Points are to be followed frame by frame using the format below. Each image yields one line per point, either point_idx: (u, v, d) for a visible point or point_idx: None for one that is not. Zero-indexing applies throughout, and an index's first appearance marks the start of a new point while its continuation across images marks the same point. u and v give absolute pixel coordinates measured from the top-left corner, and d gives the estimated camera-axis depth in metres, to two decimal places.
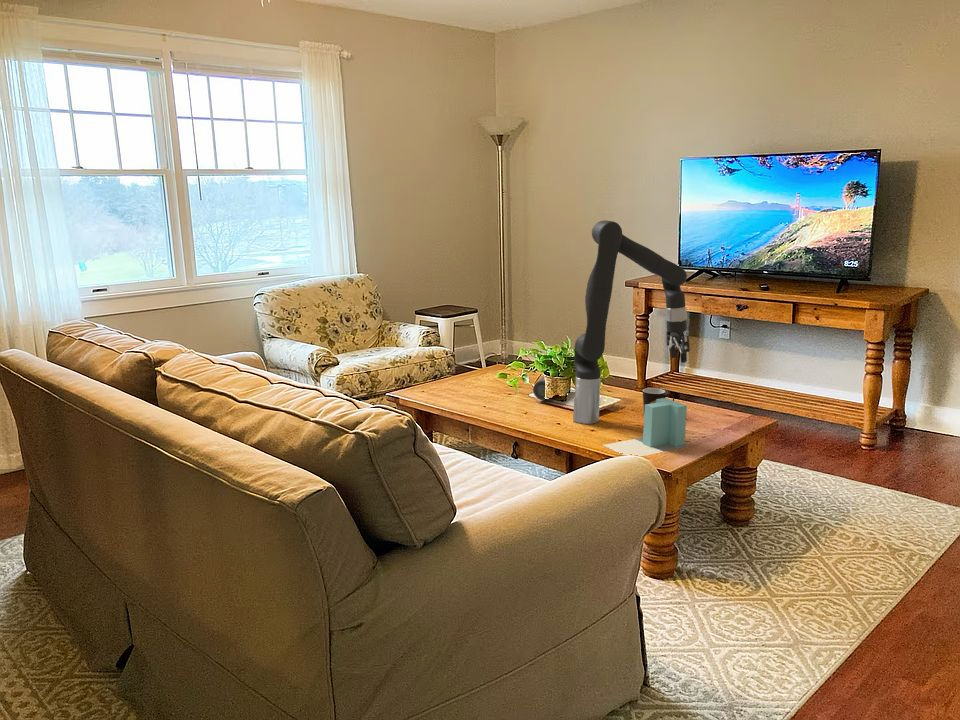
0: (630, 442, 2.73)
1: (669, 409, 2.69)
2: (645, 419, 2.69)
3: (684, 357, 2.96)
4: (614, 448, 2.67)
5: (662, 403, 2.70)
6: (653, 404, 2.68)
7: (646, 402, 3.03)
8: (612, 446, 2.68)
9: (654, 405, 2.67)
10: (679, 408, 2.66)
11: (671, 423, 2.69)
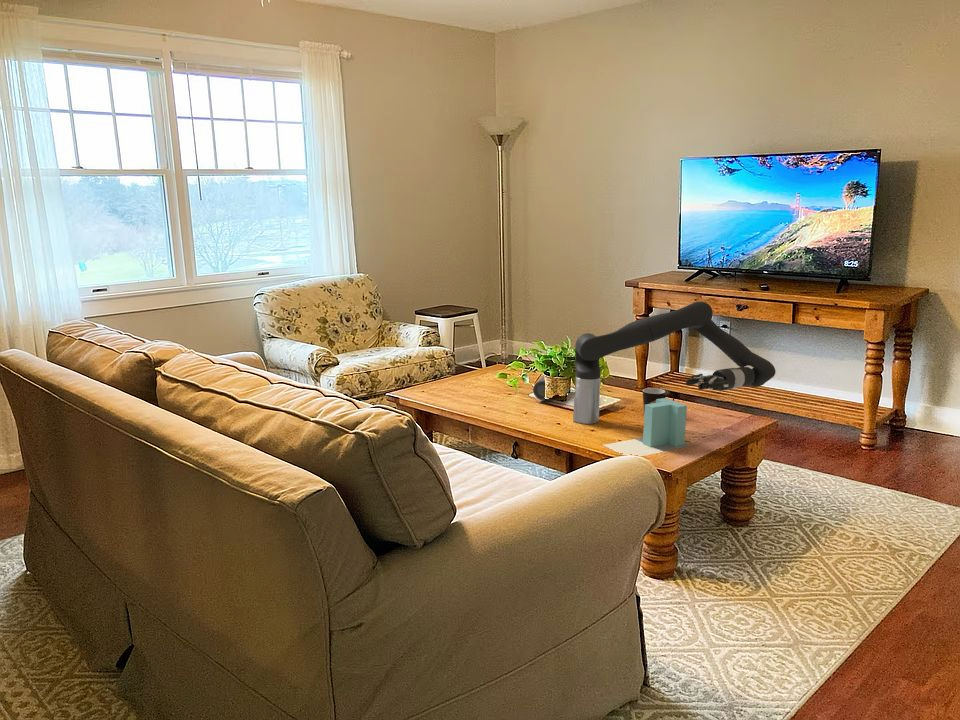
0: (630, 442, 2.73)
1: (669, 409, 2.69)
2: (645, 419, 2.69)
3: (705, 386, 2.72)
4: (614, 448, 2.67)
5: (662, 403, 2.70)
6: (653, 404, 2.68)
7: (646, 402, 3.03)
8: (612, 446, 2.68)
9: (654, 405, 2.67)
10: (679, 408, 2.66)
11: (671, 423, 2.69)
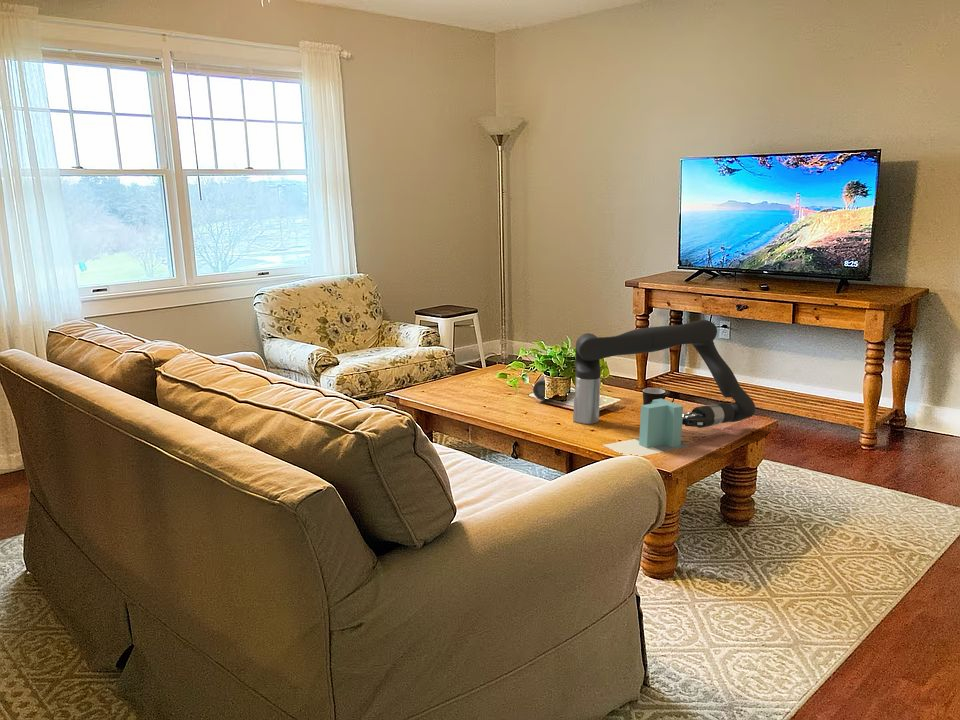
0: (630, 442, 2.73)
1: (665, 410, 2.68)
2: (641, 420, 2.68)
3: None
4: (614, 448, 2.67)
5: (658, 404, 2.69)
6: (649, 405, 2.68)
7: (646, 402, 3.03)
8: (612, 446, 2.68)
9: (650, 406, 2.66)
10: (675, 409, 2.65)
11: (667, 424, 2.68)
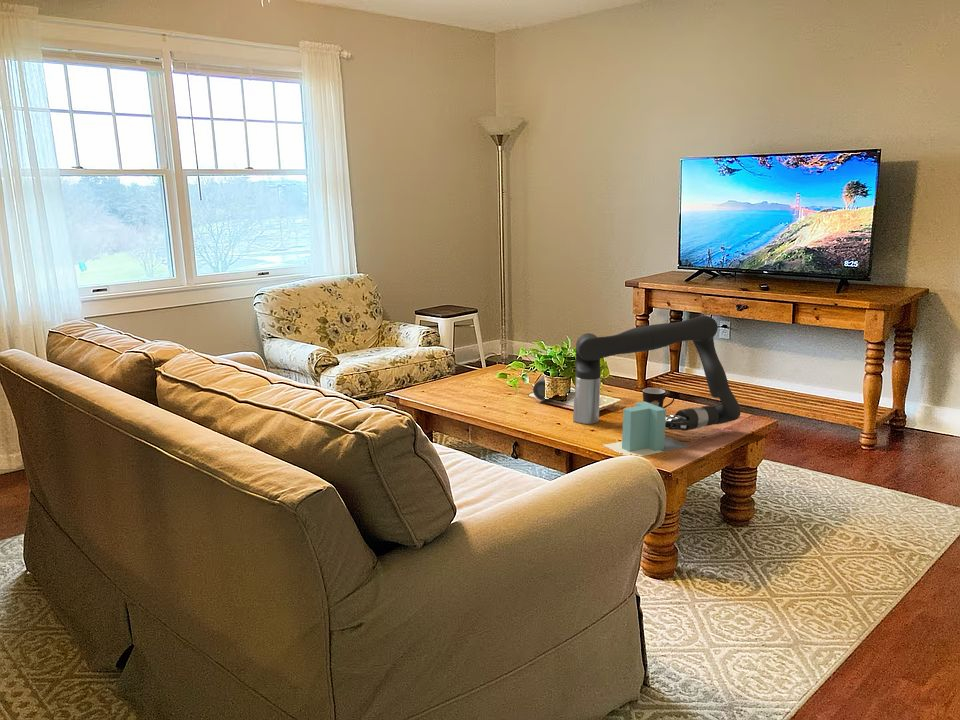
0: None
1: (648, 413, 2.64)
2: (624, 423, 2.64)
3: None
4: (614, 448, 2.67)
5: (641, 407, 2.65)
6: (632, 408, 2.64)
7: None
8: (612, 446, 2.68)
9: (633, 409, 2.63)
10: (658, 412, 2.61)
11: (650, 427, 2.65)
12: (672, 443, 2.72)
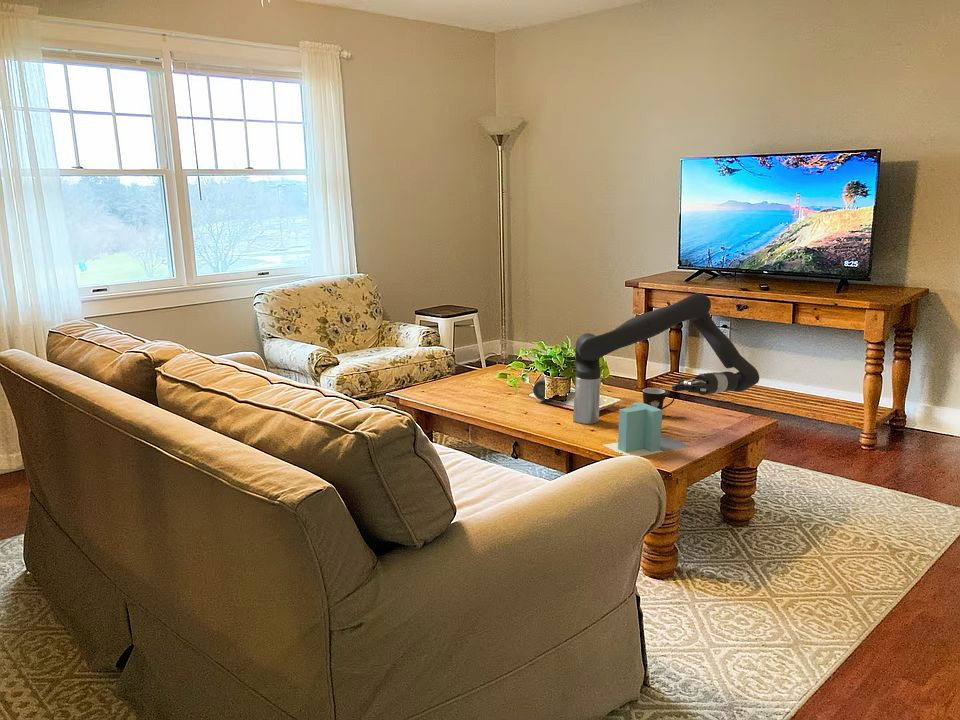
0: None
1: (644, 414, 2.63)
2: (620, 424, 2.63)
3: (681, 388, 2.70)
4: (614, 448, 2.67)
5: (637, 407, 2.64)
6: (628, 409, 2.63)
7: (646, 402, 3.03)
8: (612, 446, 2.68)
9: (629, 410, 2.62)
10: (654, 413, 2.61)
11: (647, 428, 2.64)
12: (672, 443, 2.72)
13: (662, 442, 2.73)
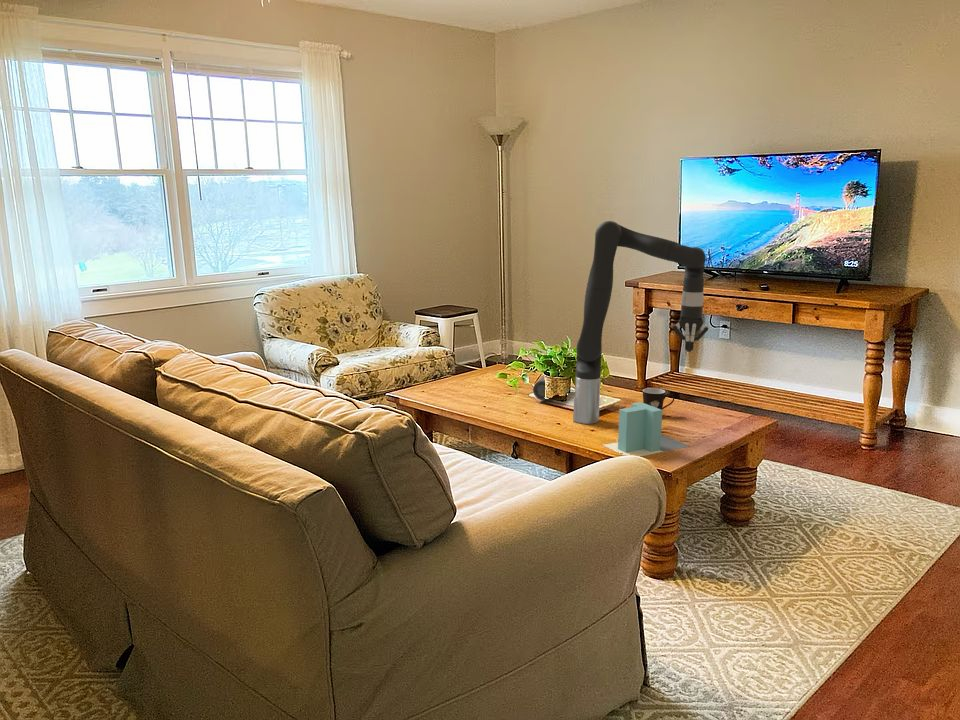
0: None
1: (644, 414, 2.63)
2: (620, 424, 2.63)
3: None
4: (614, 448, 2.67)
5: (637, 407, 2.64)
6: (628, 409, 2.63)
7: (646, 402, 3.03)
8: (612, 446, 2.68)
9: (629, 410, 2.62)
10: (654, 413, 2.61)
11: (647, 428, 2.64)
12: (672, 443, 2.72)
13: (662, 442, 2.73)
